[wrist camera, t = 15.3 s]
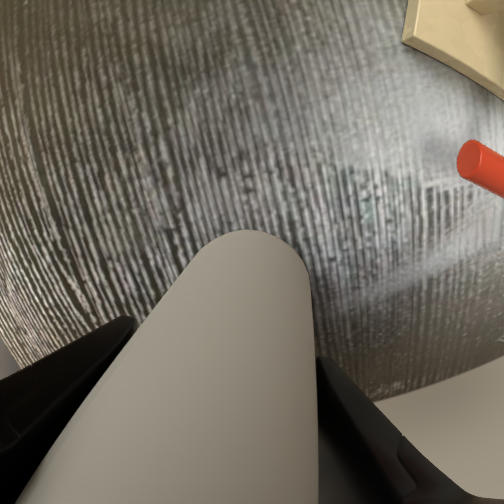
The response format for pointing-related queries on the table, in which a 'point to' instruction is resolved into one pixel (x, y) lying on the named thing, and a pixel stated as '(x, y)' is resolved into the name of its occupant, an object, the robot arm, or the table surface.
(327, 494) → the robot arm
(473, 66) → the bracket
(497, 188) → the lever
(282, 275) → the beverage can
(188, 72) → the table surface
